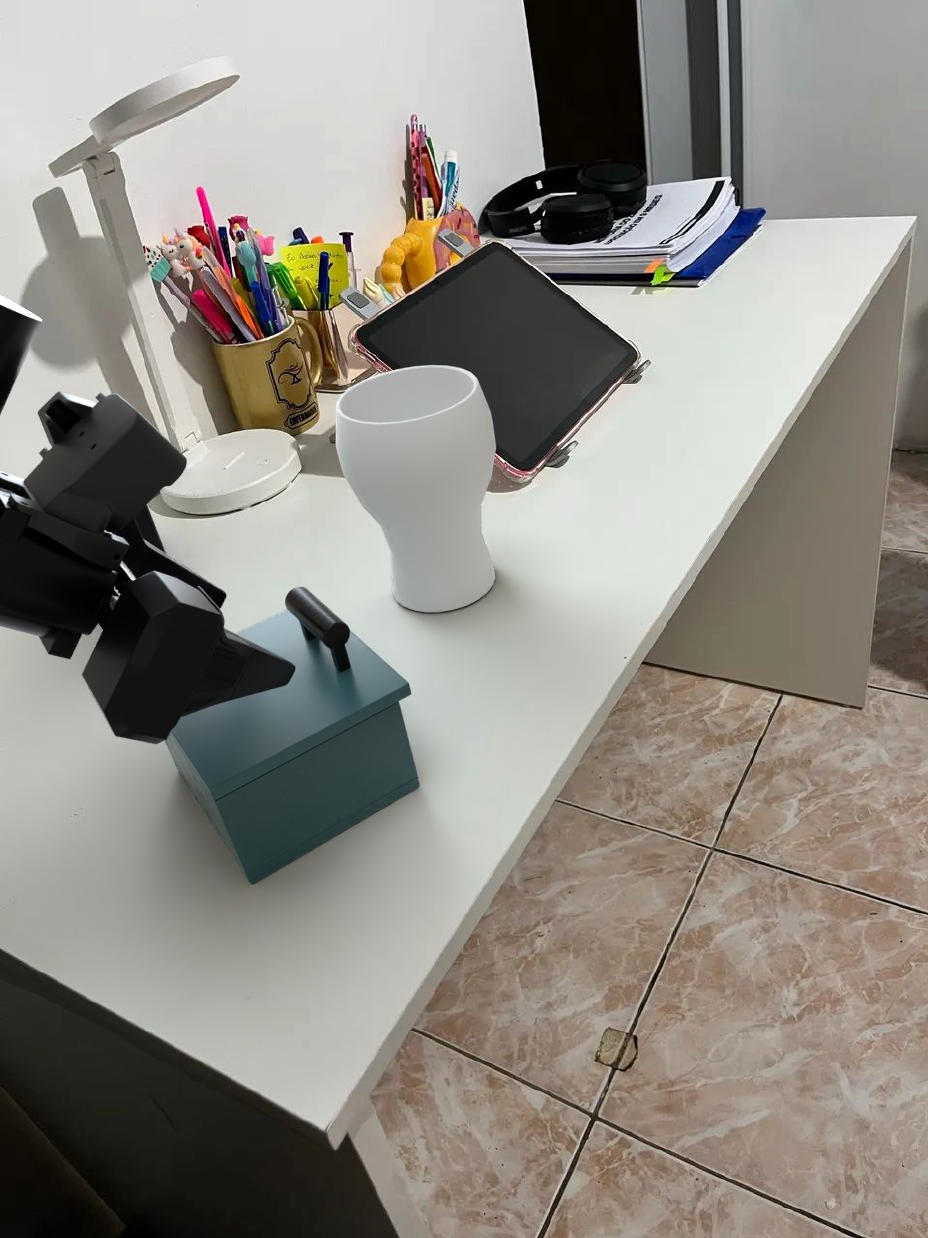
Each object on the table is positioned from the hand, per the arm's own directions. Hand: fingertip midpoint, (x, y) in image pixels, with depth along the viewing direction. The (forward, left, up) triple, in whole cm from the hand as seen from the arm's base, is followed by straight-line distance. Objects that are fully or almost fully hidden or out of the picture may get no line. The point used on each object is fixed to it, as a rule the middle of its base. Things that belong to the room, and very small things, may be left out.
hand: (254, 635), depth 50 cm
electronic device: (-3, +32, -10) cm, 34 cm away
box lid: (0, 0, -4) cm, 4 cm away
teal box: (-1, 0, -10) cm, 10 cm away
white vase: (+16, +13, -10) cm, 23 cm away
